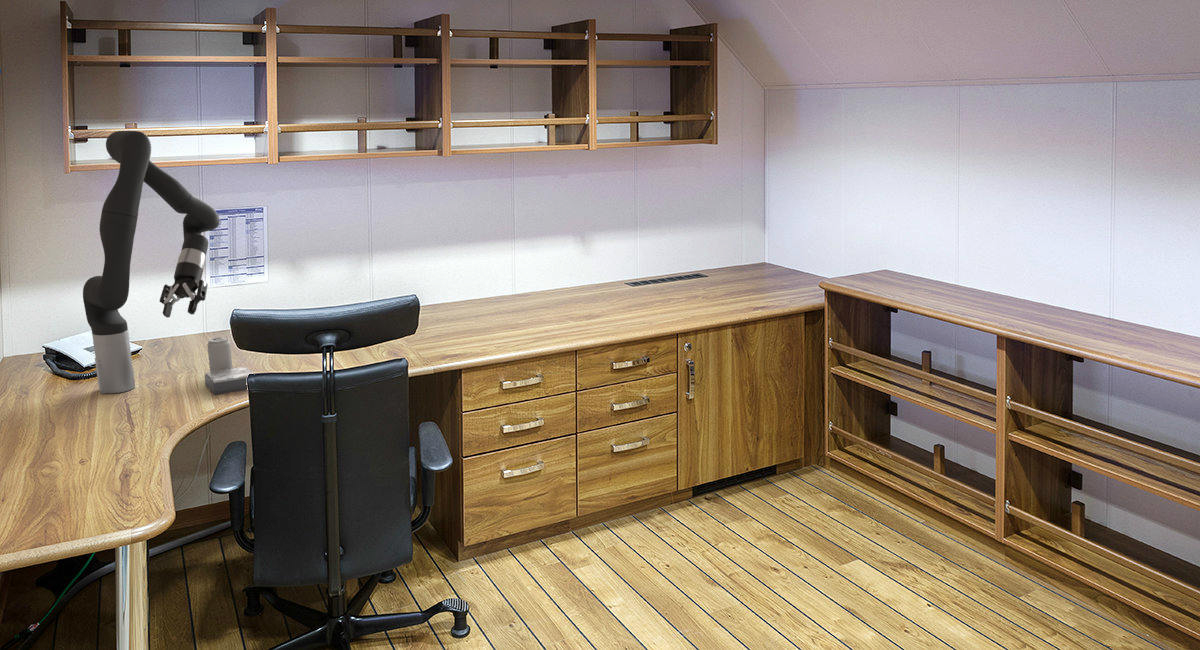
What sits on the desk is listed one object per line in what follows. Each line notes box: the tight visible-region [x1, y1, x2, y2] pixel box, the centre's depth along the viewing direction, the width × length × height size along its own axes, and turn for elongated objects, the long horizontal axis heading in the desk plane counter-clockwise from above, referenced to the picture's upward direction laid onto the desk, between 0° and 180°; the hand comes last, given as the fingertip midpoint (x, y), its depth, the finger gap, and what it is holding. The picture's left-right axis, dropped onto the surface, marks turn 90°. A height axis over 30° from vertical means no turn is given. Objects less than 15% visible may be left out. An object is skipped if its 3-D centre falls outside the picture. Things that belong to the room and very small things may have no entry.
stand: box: [204, 366, 254, 396], centre depth 277 cm, size 12×12×4 cm
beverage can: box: [206, 336, 234, 372], centre depth 286 cm, size 6×6×12 cm
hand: (178, 314), depth 279 cm, fingers open, 8 cm apart
